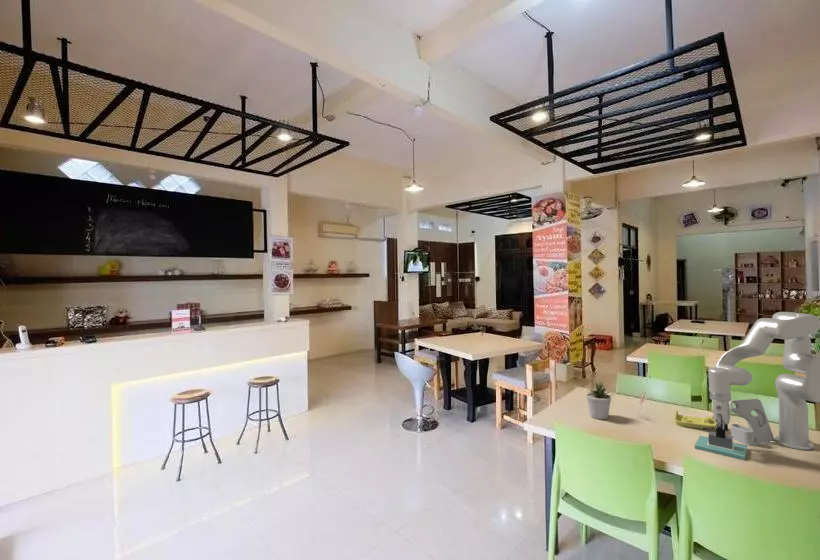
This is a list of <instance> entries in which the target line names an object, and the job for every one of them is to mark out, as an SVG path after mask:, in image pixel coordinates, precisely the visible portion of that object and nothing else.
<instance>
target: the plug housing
mask: <svg viewBox="0 0 820 560" xmlns="http://www.w3.org/2000/svg"><path fill="white" fill-rule="evenodd" d="M708 437H709V445H714V446H718V447H723V448H727V449H732V447H733V443H734V441H733V440H734V439H733V438H732V436H731V434H730V435H728V434H725V437H726V438H725V439H724V438H719V437H716V431H709V432H708Z"/></svg>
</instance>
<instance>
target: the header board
mask: <svg viewBox="0 0 820 560" xmlns="http://www.w3.org/2000/svg"><path fill="white" fill-rule="evenodd" d="M695 442H696V443H694V449H695V450H700V451H702V452H703V451H704V452H708V453H711V454H716V455H720V456H724V457H728V458H729V457H730V458H733V459H737V460H740V461H741V460H743V461H745V459H746V456H747V452H748V445H745V444H743V443H736V442H733V447H732V449H727V448H723V447H718V446H714V445H709V436H704V435H699V436H698V439H697V440H696V441H695Z"/></svg>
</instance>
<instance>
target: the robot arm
mask: <svg viewBox="0 0 820 560" xmlns="http://www.w3.org/2000/svg"><path fill="white" fill-rule="evenodd" d="M819 330H820V318H819V317H818V316H816V315H814V314H810V313H800V312H790V311H778V312H775V313H774V314H772V317H771V318H770V317H762V318H759V319H757V320H755V322H754V323H753V325H752V326H751V328H750V330H749V331H748V333H747V334H746V336H745V337H744V339H743V340H742V342H741V343H740V344H738V345H736V346H734V347H732V348H731V349H729V350H727V351H726V352H725V353H724V354H723V355H721V357H720V358H719V359H718V361H717V363H716V365H715V366H714V367H710V368H709V369H708V371H707V372H708V389H709V390H708V392H709V399H710V400H712V407H713V408H712V409H713V410H712V411H713V416H714V421H715V422H716V429H715V433H716V437H719V438H724V439H725V438H726V437H725V435H726V432H728V430H729V427H728V426H729V423H730V421H731V413H730V411H731V410H730V409H729V401H732V393H731V385H732V386H746V385H749V384H751V382H752V381H753V374H752V373H751V372H750V371H749V370H747V369H745V368H743V367H739V366H735V365H737V363H739V362H741V361H743V360H745V359H749V358H754V357H760V356H762V355H764V354H765V353H766V351H767V350H768V348H769V347H770V345H771V343H773V341H774V339H780V340H784V346H783V356H782V365H783V367H784V369H786V370H788V371H790V372H794V373H798V374H802V375H805V377H804V376H801V375H796V374H793V373H781V374H779V375H778V376H777V377H776V379H775V381H774V383H775V384H774V385H775V389H776V393H777V397H778V399H777V400H778V426H779V427H778V430H779V432H778V433H779V435H777V436H774V439H775V441H776V442H778V444H780V445H781V446H784V447H787V448H791V449H795V450H801V451H802V450H803V451H811V450H814V448H815V446H814V444H813V443H812V442H810V437H809V436H810V435H809V434H810V433H809V432H810V431H809V430H810V429H809V405H808V403H807V401H808V402H812V403H820V355H819V354H815V353H812V351H811V349H812V340H811V337H810V335H812V334H815V333H817V332H818V331H819Z"/></svg>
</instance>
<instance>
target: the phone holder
mask: <svg viewBox="0 0 820 560" xmlns="http://www.w3.org/2000/svg"><path fill="white" fill-rule="evenodd" d="M733 404H734V407H733ZM729 410H730V411H731V412H732V413H734V414H736V415H737V416H739V417H741V418H743V419H744V420H746V422H747V426H748V427H746V426H743V425H741V424H737V423H732V424H730V436H732V438H733V440H734V441H737V442H739V443H740V444H742V445H747V447H748V446H749V447H753V446H754V447H755V446H764V445H765V446H766V444H767V445H775V444H774V443H778V442H770V441H775V436H774V435H773V431H772V428H771V426H770V422H769V420H768V416H767V414H766V411H765V409H764V406H763V404H762V401H761V400H760V399H758V398H750V399H738V400H737V399H736V400H731V401H729ZM753 411H754V412H755V416H754V415H752V412H753ZM762 442H765V443H762ZM778 444H779V443H778Z"/></svg>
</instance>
